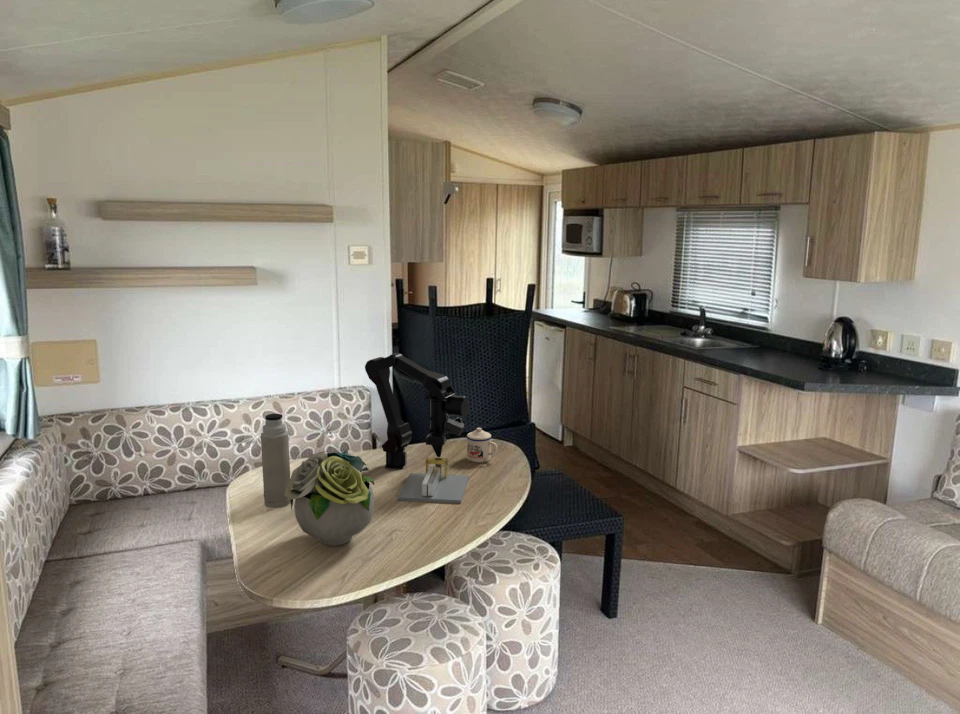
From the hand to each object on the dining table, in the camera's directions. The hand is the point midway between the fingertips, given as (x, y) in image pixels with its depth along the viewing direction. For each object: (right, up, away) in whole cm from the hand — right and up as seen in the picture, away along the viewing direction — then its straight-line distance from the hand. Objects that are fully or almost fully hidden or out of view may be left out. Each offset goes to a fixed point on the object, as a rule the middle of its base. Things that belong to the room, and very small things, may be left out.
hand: (438, 456), depth 235 cm
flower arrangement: (-25, -16, -47) cm, 56 cm away
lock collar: (0, -6, -4) cm, 7 cm away
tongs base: (-1, -9, -11) cm, 14 cm away
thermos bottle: (-48, -11, -23) cm, 55 cm away
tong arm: (-1, -8, -12) cm, 15 cm away
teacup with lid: (+15, -4, +16) cm, 22 cm away
